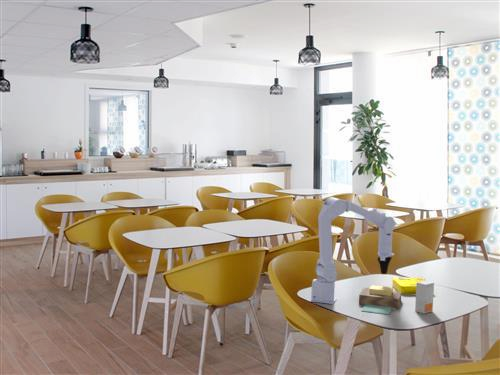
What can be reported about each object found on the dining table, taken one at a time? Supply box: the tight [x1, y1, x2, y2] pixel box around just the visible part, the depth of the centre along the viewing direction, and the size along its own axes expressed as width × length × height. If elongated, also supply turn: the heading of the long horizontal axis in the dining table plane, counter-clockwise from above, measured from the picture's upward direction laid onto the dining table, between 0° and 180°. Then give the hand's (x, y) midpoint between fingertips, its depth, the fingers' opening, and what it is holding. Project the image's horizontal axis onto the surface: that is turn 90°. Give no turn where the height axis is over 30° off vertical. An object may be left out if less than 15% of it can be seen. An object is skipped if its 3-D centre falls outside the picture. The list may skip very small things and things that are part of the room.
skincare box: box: [414, 280, 435, 314], centre depth 222 cm, size 6×4×12 cm
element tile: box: [392, 276, 427, 296], centre depth 254 cm, size 15×15×5 cm
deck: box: [358, 287, 402, 310], centre depth 234 cm, size 16×12×4 cm
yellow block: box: [368, 284, 394, 296], centre depth 234 cm, size 9×6×2 cm, turn 69°
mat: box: [360, 304, 393, 315], centre depth 224 cm, size 11×9×1 cm
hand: (383, 273), depth 241 cm, fingers closed
